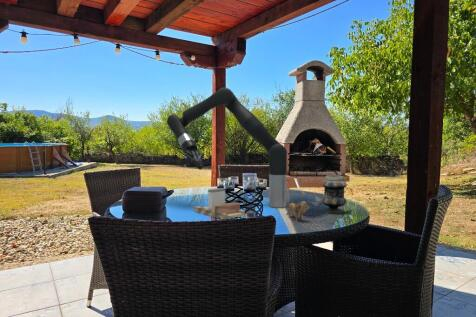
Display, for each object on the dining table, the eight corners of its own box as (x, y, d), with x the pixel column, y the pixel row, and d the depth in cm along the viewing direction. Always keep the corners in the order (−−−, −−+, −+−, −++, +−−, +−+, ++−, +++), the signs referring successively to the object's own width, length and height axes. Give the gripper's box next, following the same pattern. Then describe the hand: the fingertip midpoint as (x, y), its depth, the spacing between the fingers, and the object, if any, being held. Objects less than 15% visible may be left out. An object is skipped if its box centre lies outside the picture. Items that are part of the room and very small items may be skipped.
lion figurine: (310, 221, 149) (311, 201, 149) (301, 223, 147) (301, 202, 146) (290, 215, 162) (290, 196, 162) (281, 216, 160) (281, 197, 159)
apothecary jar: (350, 213, 165) (351, 177, 164) (327, 215, 162) (328, 177, 161) (338, 208, 177) (339, 174, 175) (317, 209, 174) (317, 174, 173)
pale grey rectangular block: (208, 210, 163) (208, 189, 163) (221, 207, 169) (221, 188, 168) (212, 211, 161) (212, 190, 160) (225, 208, 166) (225, 188, 166)
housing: (193, 211, 169) (193, 200, 168) (212, 208, 177) (212, 197, 176) (225, 220, 151) (225, 207, 151) (244, 216, 159) (244, 204, 159)
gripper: (179, 139, 174) (193, 164, 166) (200, 138, 183) (214, 162, 175) (174, 149, 179) (187, 173, 170) (194, 148, 188) (208, 172, 179)
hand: (201, 168), depth 173 cm, fingers closed
